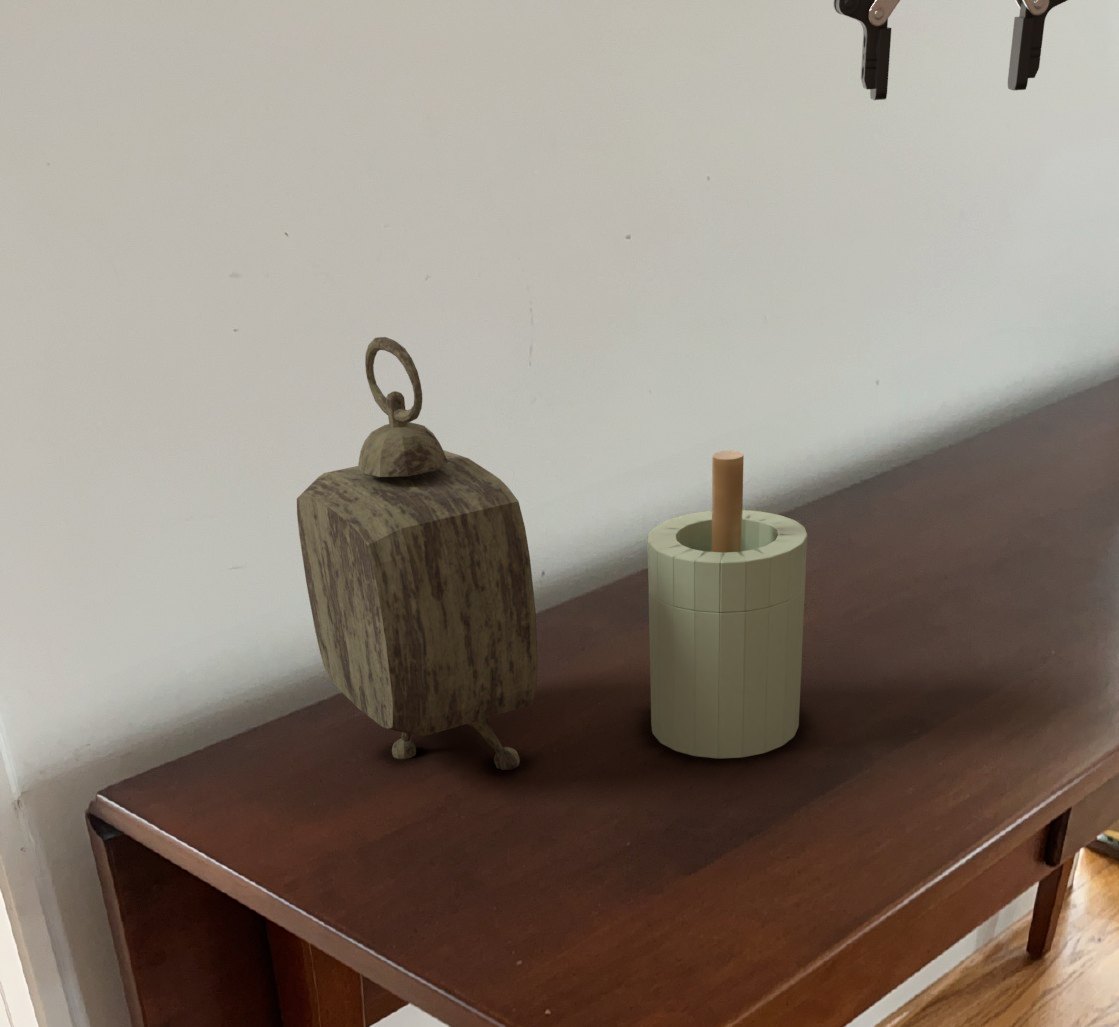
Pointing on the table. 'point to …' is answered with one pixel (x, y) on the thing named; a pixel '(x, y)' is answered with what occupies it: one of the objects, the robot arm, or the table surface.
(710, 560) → the cylindrical container
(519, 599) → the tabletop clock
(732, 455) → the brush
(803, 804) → the table surface
